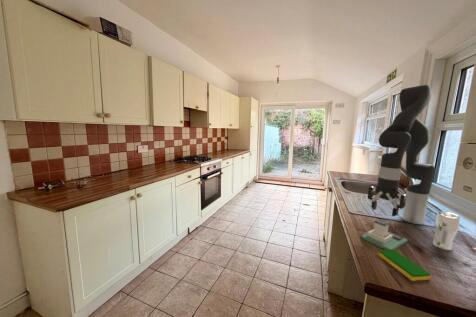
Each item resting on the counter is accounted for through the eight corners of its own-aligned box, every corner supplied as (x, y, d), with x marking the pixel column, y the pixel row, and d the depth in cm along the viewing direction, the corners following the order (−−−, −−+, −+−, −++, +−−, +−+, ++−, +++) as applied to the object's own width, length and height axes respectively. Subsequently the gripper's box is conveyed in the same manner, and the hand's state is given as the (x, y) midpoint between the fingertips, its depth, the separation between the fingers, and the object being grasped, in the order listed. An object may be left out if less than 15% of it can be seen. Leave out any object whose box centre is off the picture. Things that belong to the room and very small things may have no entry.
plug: (376, 234, 92) (379, 218, 91) (386, 238, 89) (389, 222, 88) (372, 236, 90) (374, 220, 89) (382, 241, 87) (385, 224, 86)
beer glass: (450, 253, 81) (457, 219, 79) (428, 244, 87) (434, 212, 85) (456, 248, 85) (463, 216, 82) (434, 240, 91) (440, 210, 88)
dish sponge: (393, 254, 80) (394, 249, 80) (430, 280, 66) (431, 274, 66) (377, 255, 79) (378, 250, 79) (411, 282, 66) (413, 275, 65)
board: (378, 229, 99) (378, 224, 98) (407, 241, 89) (408, 235, 88) (360, 237, 91) (361, 231, 91) (390, 252, 81) (391, 245, 80)
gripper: (413, 180, 81) (406, 217, 83) (375, 172, 93) (370, 205, 96) (405, 182, 77) (398, 220, 80) (366, 174, 89) (362, 208, 92)
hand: (383, 212), depth 88 cm, fingers open, 7 cm apart
